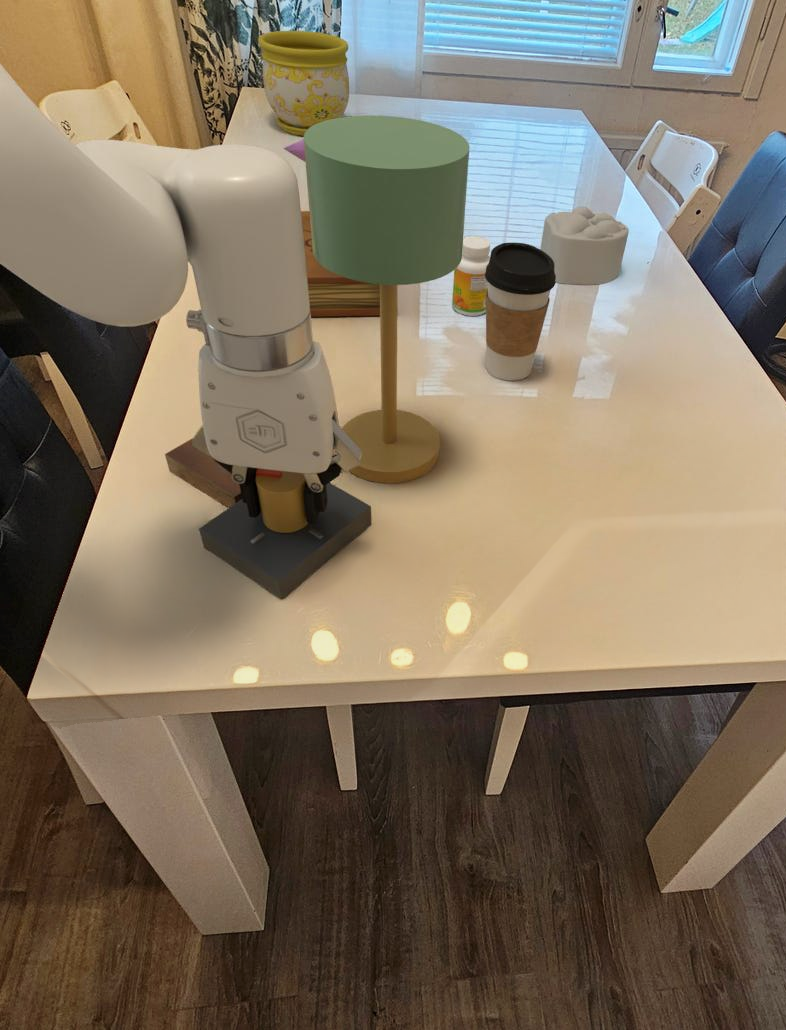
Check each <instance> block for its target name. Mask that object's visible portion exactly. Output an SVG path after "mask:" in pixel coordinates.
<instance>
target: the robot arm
mask: <svg viewBox="0 0 786 1030" xmlns="http://www.w3.org/2000/svg"><path fill="white" fill-rule="evenodd" d="M300 196H301V195H300V189H299V182H298V178H297V175H296V173H295V170H294V168H293V166H292V165H291V164H290V162H289V161H288V160H287V159H286V158H285V157H283V156H282V155H281V154H279V153H278V152H276V151H273V150H271V149H268V148H265V147H260V146H257V145H256V146H255V145H251V144H240V143H239V144H237V143H229V144H228V143H225V144H216V145H210V146H205V147H201V148H198V149H192V148H179V147H171V146H163V145H162V146H161V145H155V144H148V143H140V142H134V141H127V140H118V139H90V140H84V141H81V142H78V143H76V144H75V143H74V142H73V141H72V140H71V139H70V138H69V137H68V136H67V135H65V133H64V132H62V131H61V130H60V128H58V127H57V126H56V124H54V122H52V121H51V119H50V118H49V117H48V116H47V115H46V114H45V113H44V112H43V111H42V110H41V109H40V108H39V107H38V106H37V105H36V103H34V102H33V100H32V99H30V97H29V96H28V95H27V94H26V93H25V92H24V91H23V89H22V88H21V87H20V86H19V85H18V83H17V82H16V80H14V78H13V77H12V76H11V75H10V74H9V73H8V71H7V70H6V68H4V66H3V65H2V64H1V63H0V265H1V266H3V267H4V268H6V270H8V271H9V272H11V273H12V274H14V275H15V276H17V277H18V278H19V279H21V280H23V282H25V283H27V284H28V285H29V286H31V287H33V288H34V289H35V290H37V291H38V292H40V293H41V294H42V295H44V296H46V297H47V298H48V299H50V300H51V301H53V302H54V303H56V304H58V305H60V306H61V307H63V308H65V309H67V310H68V311H71V312H72V313H75V314H76V315H79V316H81V317H83V318H86V319H88V320H90V321H93V322H97V323H100V324H104V325H108V326H115V327H138V326H143V325H148V324H151V323H153V322H155V321H158V320H160V319H161V318H163V317H164V316H166V315H167V314H169V313H170V312H171V311H172V310H173V309H174V307H175V306H176V305H177V304H178V303H179V302H180V299H181V297H182V296H183V294H184V292H185V289H186V286H187V281H188V277H189V264H190V265H191V269H192V273H193V277H194V282H195V288H196V291H197V292H196V293H197V296H198V301H199V307H200V309H198V310H192V309H189V310H188V311H187V312H186V318H185V321H186V326H187V328H188V329H189V330H197V331H198V332H201V333H202V334H203V337H204V342H205V344H203V345H202V346H201V348H200V349H199V352H198V391H199V405H200V414H201V423H202V425H200V427H199V429H198V430H197V431H196V433H195V434H194V436H193V437H192V438H193V439H192V438H191V439H192V441H191V443H192V445H193V446H194V447H195V448H197V449H199V450H200V451H202V452H204V453H205V454H207V455H208V456H212V457H213V458H214V460H215V462H217V463H218V464H219V465H221V466H222V467H223V468H225V469H226V470H227V471H229V472H230V473H231V474H232V476H231V477H232V480H233V481H234V482H236V483H239V485H240V490H241V495H242V500H243V503H247V507H248V512H249V517H253V518H256V517H258V516H259V514H260V512H261V507H260V502H259V496H258V490H257V485H256V471H257V469H269V470H278V471H287V472H296V473H303V475H304V478H305V480H306V482H307V485H306V488H305V490H304V503H305V511H306V519H307V522H309V524H314V525H315V524H316V521H317V518H318V516H319V513H320V512H325V510H326V507H327V501H328V499H327V488H326V485H327V484H328V483H331V482H332V481H334V480H335V479H337V478H338V477H339V476H340V475H341V474H343V473H344V472H345V473H346V472H349V470H350V469H352V468H355V467H357V466H359V465H360V462H361V459H362V456H363V452H362V451H361V449H360V448H359V447H358V446H357V445H356V444H355V443H354V442H353V441H352V439H351V438H350V437H349V436H348V435H347V434H346V433H345V432H344V430H343V429H342V428H343V427H341V426H340V423H339V422H340V421H339V413H338V407H337V401H336V395H335V390H334V385H333V381H332V377H331V373H330V369H329V366H328V363H327V359H326V356H325V354H324V353H325V352H324V351H323V348H322V346H321V343H319V341H315V340H314V336H313V335H314V334H313V326H312V325H313V324H312V317H311V314H310V304H309V292H308V282H307V271H306V260H305V249H304V239H303V228H302V217H301V211H302V208H301V198H300ZM334 452H335V453H337V454H334ZM333 454H334V455H333Z"/></svg>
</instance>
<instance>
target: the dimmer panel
mask: <svg viewBox="0 0 786 1030" xmlns="http://www.w3.org/2000/svg"><path fill="white" fill-rule="evenodd" d="M326 488H327V499H328V501H327V507H326V510H325V512H320V513H319V516H318V518H317V521H316V524H315V525H314V524H309V523H308V524H307V525H306V526H305V527H304V528H302V529H300V530H298V531H295V532H291V533H279V532H275V531H272V530H270V529H269V528H267V527H266V525H265V524H264V522H263V518H262V513H261V512H260V514H259V516H258V517H256V518H253V517H249V512H248V507H247V503H243V500H242V499H241V500H240V501H239V502H237V503H236V504H234V505H233V506H231V507H230V508H228V507H227V508H226V509H225V510H223V512H221V513H220V514H218V515H217V516H215V517H214V518H212V519H210V520H209V521H207V522H206V523H205V524H203V525H202V526H200V527H199V528H198V531H199V535H200V538H201V542H202V546H203V548H204V549H206V550H207V551H208V552H210V553H211V554H213V555H215V556H216V557H217V558H219V559H221V560H222V561H224V563H227V564H228V565H229V566H231V567H232V568H234V569H236V570H237V571H238V572H240V573H242V574H243V575H245V576H246V577H247V578H248V579H250V580H252V581H253V582H255V583H256V584H258V585H259V586H261V587H262V588H264V589H265V590H267V591H269V592H270V593H272V594H273V595H274V596H276V597H278V598H279V599H281V600H283V599H285V597H286V596H287V595H289V594H290V593H291V592H293V591H294V590H296V588H297V587H298V586H300V585H301V584H302V583H303V582H305V581H306V580H307V579H308V578H309V577H311V576H312V575H313V574H314V573H315V572H316V571H317V570H319V569H320V568H321V567H322V566H324V565H325V564H326V563H327V562H328V561H330V560H331V559H332V558H333V557H335V556H336V555H337V554H338V553H339V552H340V551H342V550H343V549H345V547H347V545H349V544H350V543H351V542H352V541H353V540H355V539H356V538H357V537H358V536H360V535H361V534H362V533H363V532H364V531H366V530H367V529H368V528H369V527H370V526H372V506H371V504H368V503H366V502H364V501H363V500H361V499H360V498H358V497H356V496H354V495H352V494H350V493H349V492H347V491H345V490H343V489H342V488H340V487H338V486H336V485H335V484H333V483H331V482H330V483H328V484H327V485H326Z"/></svg>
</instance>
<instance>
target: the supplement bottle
mask: <svg viewBox="0 0 786 1030" xmlns="http://www.w3.org/2000/svg"><path fill="white" fill-rule="evenodd" d="M490 253H491V242H490V241H489V240H488V239H487V238H485V237H482V236H476V235H475V236H474V235H470V236H465V237H463V248H462V259H461V262H460V264H459V265H458V267H457V268H456V269H455V270H454V271H453V284H452V298H451V299H452V300H451V307H452V309H453V310H454V311H455V312H457V313H459V314H460V315H464V316H469V317H476V316H480V315H483V314H486V291H487V289H488V281H487V280H486V278H485V272H486V267H487V265H488V264H489V260H490Z"/></svg>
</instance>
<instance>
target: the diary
mask: <svg viewBox="0 0 786 1030" xmlns="http://www.w3.org/2000/svg"><path fill="white" fill-rule="evenodd" d="M301 217H302V228H303V239H304V249H305V260H306V271H307V282H308V292H309V304H310V314H311V318H312V317H360V316H364V317H365V316H369V317H370V316H380V284H372V283H365V282H360V281H356V280H352V279H349V278H345V277H343V276H340V275H337V274H335V273H333V272H331V271H329V270H328V269H326V268H325V267H323V266H322V265H321V264H320V263H319V262H318V261H317V260H316V258H315V256H314V254H313V248H312V236H311V223H310V211H309V210H301Z"/></svg>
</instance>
